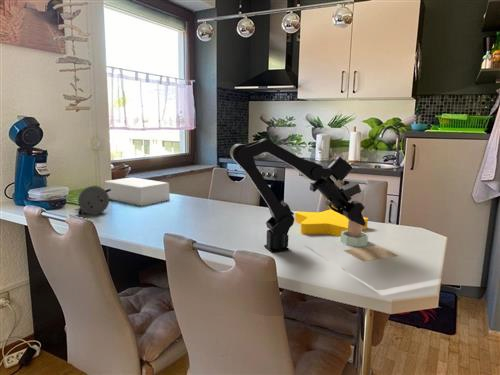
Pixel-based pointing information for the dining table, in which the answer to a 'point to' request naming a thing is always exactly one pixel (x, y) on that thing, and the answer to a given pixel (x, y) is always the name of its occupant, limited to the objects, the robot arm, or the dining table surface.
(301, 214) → the star
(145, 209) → the dining table surface
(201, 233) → the dining table surface
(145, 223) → the dining table surface
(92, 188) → the toy
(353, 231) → the peach cylinder with balls
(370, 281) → the dining table surface
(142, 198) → the box
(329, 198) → the robot arm
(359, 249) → the board
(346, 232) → the bowl
